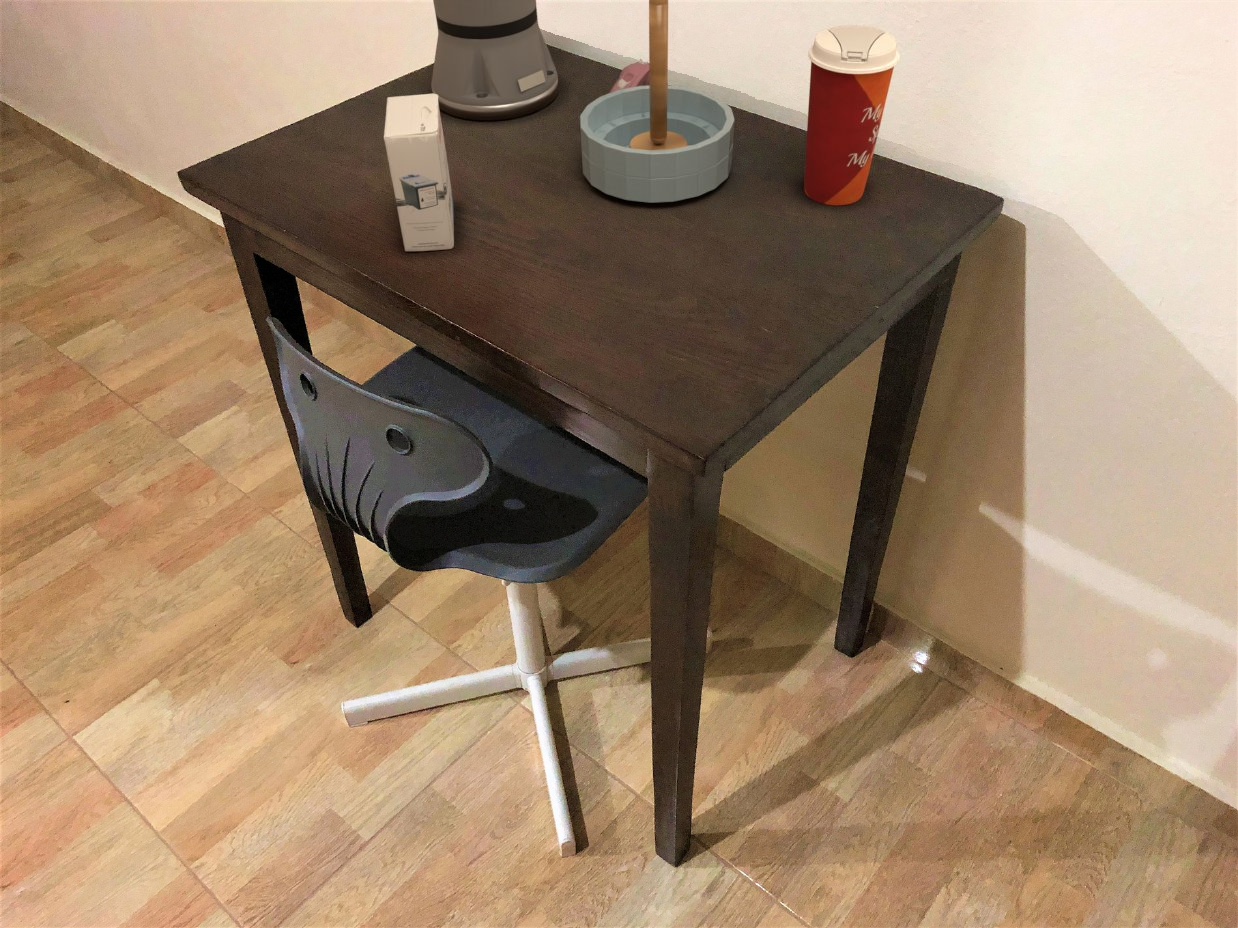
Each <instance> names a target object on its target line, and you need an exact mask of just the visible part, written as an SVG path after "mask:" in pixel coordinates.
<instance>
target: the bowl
mask: <svg viewBox="0 0 1238 928" xmlns="http://www.w3.org/2000/svg"><path fill="white" fill-rule="evenodd" d="M735 120H736V119H735V116H734V113H733V110H732V108H731V106H730V105H728V104H727V103H726V102H725V101H724V100H723V99H721V98H720V97H717V96H715V95H713V94H711V93H709V92H706V91H704V90H699V89H695V88H692V87H688V86H683V85H682V86H681V85H669V84H668V99H667V131H669V132H674V133H677V134H679V135H681V136H683V137H684V138H685V139H686V141H687V146H686V147H681V148H676V149H667V150H642V149H633V148H630V142H631V140H632V139H633V138H634V137H635V136H637V135H639V134H641V133H645V132H649V131H650V91H649V86H637V87H632V88H627V89H621V90H617V91H614V92H612V93H610V92H608V93H606V94H603V95H601V96H599V97H598V98H596V99H595V100H593V101H591V102H590V103H588V104H587V105H586V106H585V108H584V110H583V111H582V112H581V114H580V116H579V127H580V144H581V145H580V146H581V147H580V148H581V159H582V160H581V161H582V174H583V176H584V177H585V179H586V180H587V181H588V182H589V184H590V185H591V186H592V187H594V188H596V189H597V190H599V191H600V192H602V193H604V195H608V196H612V197H615V198H618V199H621V200H625V201H631V202H640V203H641V202H642V203H648V204H650V203H651V204H653V203H674V202H678V201H684V200H687V199H691V198H696V197H700V196H702V195H704V194H707V193H708V192H710V191H713V190H716V189H717V188H718V187H719V186H720V185H721V184H722V183H723V182H725V181H726V180H727V179H728V177H729V175H730V172H731V169H732V165H733V151H734V150H733V149H734V137H735V135H734V134H735Z"/></svg>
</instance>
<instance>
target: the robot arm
mask: <svg viewBox="0 0 1238 928" xmlns="http://www.w3.org/2000/svg"><path fill="white" fill-rule="evenodd" d="M432 1H433V7H434V14H435V20H436V26H437V39H436V40H437V41H436V47H435V54H434V61H433V67H432V68H433V70H432V76H431V91H432V94H437V95H438V104H439V110H441V111H442V112H444V113H446V114H448V115H451V116H454V117H457V118H461V119H465V120H466V119H467V120H474V121H498V120H507V119H514V118H519V117H523V116H526V115H529V114H532V113H534V112H538V111H539V110H541V109H543V108H545V107H546V106H548V105H550V104H551V103H552V102H553V101H554V100H555V99H556V98H557V96H558V95H559V89H560V88H559V77H558V71H557V68H556V65H555V63H554V60H553V58H552V56H551V53H550V51H549V48H548V46H547V43H546V41H545V39H544V36H543V33H542V31H541V28H540V25H539V18H538V9H537V0H432Z"/></svg>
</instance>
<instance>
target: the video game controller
mask: <svg viewBox="0 0 1238 928" xmlns="http://www.w3.org/2000/svg"><path fill="white" fill-rule="evenodd" d="M637 86H649V61H644V60H642V58H639V60H638V61H636V62H633V63H630V64H628V65H627V66H625V67H623V68H622V70H621V72H620V74H619V77H618V78H617V80H616V81H615V83H614V85H613V86H612V88H611V89H610V91H609V93H612V92H614V91H617V90H621V89H627V88H632V87H637Z"/></svg>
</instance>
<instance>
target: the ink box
mask: <svg viewBox="0 0 1238 928" xmlns="http://www.w3.org/2000/svg"><path fill="white" fill-rule="evenodd" d="M385 109H386V110H385V120H384V121H385V122H384V131H383V141H384V146H385V151H386V156H387V161H388V165H389V166H388V167H389V173H390V177H391V182H392V188H393V192H394V198H395V203H396V209H397V215H398V220H399V226H400V231H401V236H402V242H403V246H404V251H405V252H427V251H441V250H452V249H453V248H454V247H455V224H454V221H455V219H454V218H455V217H454V216H455V215H454V197H453V191H452V184H451V183H452V182H451V178H450V170H449V163H448V156H447V151H446V142H445V136H444V131H443V124H442V118H441V112H440V110H441V109H440V108H439V104H438V95H437V94H433V93H423V94H412V95H410V94H409V95H399V96H389V97H387V98H386V108H385Z"/></svg>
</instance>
